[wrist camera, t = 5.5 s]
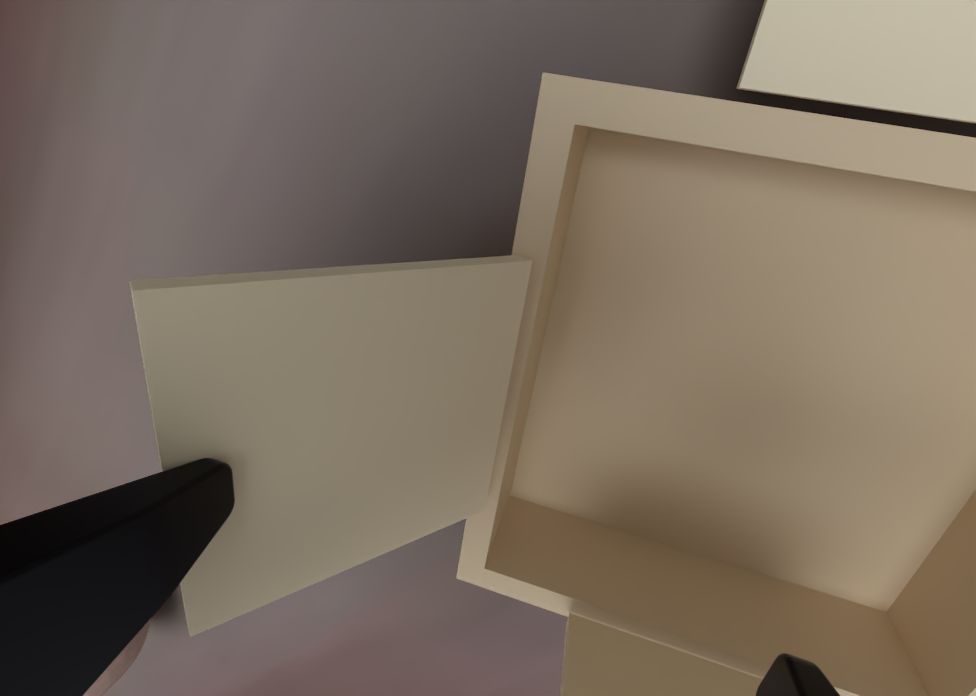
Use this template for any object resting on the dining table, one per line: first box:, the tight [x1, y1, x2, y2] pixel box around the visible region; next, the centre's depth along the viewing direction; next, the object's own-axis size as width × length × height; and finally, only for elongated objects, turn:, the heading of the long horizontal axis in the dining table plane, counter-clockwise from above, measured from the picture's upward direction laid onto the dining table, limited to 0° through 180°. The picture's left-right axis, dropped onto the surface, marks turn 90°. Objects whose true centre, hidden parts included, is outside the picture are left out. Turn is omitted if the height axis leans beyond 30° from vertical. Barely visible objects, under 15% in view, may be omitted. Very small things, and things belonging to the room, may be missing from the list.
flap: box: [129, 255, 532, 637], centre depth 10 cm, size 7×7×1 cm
